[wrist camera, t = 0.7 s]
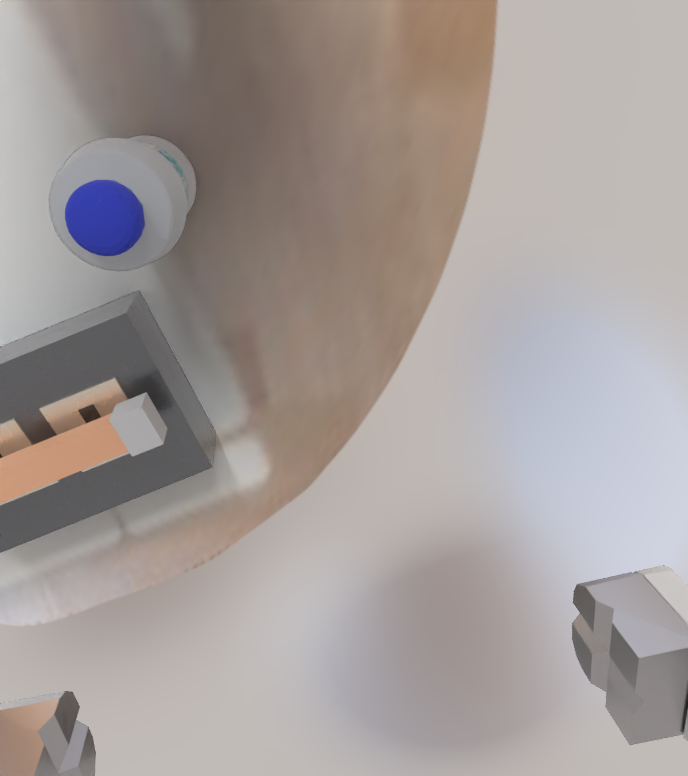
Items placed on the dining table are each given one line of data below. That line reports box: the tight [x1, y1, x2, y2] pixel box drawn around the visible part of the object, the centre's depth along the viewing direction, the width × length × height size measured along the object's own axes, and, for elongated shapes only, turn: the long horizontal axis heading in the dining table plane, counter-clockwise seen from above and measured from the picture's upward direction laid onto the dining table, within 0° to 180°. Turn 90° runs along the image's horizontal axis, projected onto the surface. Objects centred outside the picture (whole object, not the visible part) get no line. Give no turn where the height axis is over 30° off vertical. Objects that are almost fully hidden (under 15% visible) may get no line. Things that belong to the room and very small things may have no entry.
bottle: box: [49, 135, 196, 271], centre depth 36 cm, size 7×7×20 cm
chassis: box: [0, 291, 216, 553], centre depth 48 cm, size 14×20×6 cm
